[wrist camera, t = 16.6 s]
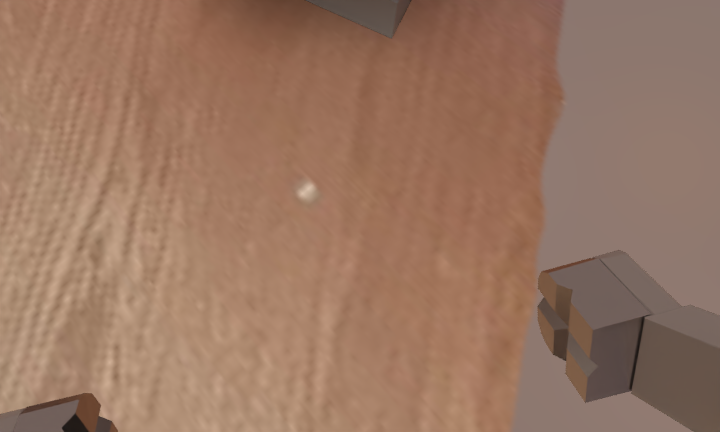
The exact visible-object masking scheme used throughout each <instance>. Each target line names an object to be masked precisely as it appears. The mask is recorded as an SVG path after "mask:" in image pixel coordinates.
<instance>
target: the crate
mask: <svg viewBox="0 0 720 432" xmlns="http://www.w3.org/2000/svg"><path fill="white" fill-rule="evenodd" d="M306 1H308V2H310V3H313V4H315V5H317V6H319V7H322V8H324V9H326V10H329V11H331V12H333V13H335V14H338V15H340V16H342V17H344V18H347V19H349V20H351V21H353V22H356V23H358V24H360V25H362V26H365V27H367V28H369V29H371V30H374V31H376V32H378V33H380V34H383V35H385V36H387V37H389V38H392V37H393V35H394V33H395V31H396V29H397V27H398V25H399V23H400V22H401V20H402V18H403V16H404V14H405V12H406V10H407V8H408V6H409V4H410V2H411V0H306Z"/></svg>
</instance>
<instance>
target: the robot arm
mask: <svg viewBox="0 0 720 432" xmlns="http://www.w3.org/2000/svg"><path fill="white" fill-rule="evenodd" d="M538 289H539V290H540V292H541V293H542V295H543V296H544V298H543V299H542V301H541V302H540V303H539V305H538V322H539V326H540V330H541V334H542V336H543V338H544V340H545V342H546V344H547V346H548V348H549V349H550V351H551V352H552V354H553V355H555V356H557V357H559V358H561V359H563V360H565V361H566V375H567V376H568V378H569V379H570V381H571V382H572V384H573V385H574V387H575V388H576V390H577V391H578V393H579V394H580V396H581V397H582V399H583V400H584V402H585V403H586V402H590V401H593V400H598V399H602V398H605V397H609V396H613V395H617V394H621V393H625V392H629V391H632V392H631V394H633V395H635V396H636V397H638V398H640V399H641V400H643V401H645V402H646V403H648V404H649V405H651V406H653V407H654V408H656V409H658V410H659V411H661V412H662V413H664V414H666V415H667V416H669V417H671V418H672V419H674V420H675V421H677V422H679V423H680V424H682V425H684V426H685V427H687V428H689V429H690V430H692V431H694V432H720V315H717V314H714V313H712V312H709V311H706V310H703V309H701V308H698V307H695V306H692V305H688V306H684V307H682V306H681V305H680V304H679V303H678V302H677V301H676V300H675V299H674V298H672V296H671V295H669V294H668V293H667V292H666V291H665V290H664V289H663V288H662V287H661V286H660V285H659V284H658V283H657V282H656V281H655V280H654V279H653V278H652V277H651V276H650V275H649V274H648V273H646V271H644V270H643V269H642V268H641V267H640V266H639V265H638V264H637V263H636V262H635V261H634V260H633V259H632V258H631V257H630V256H629V255H628V254H627V253H625V252H623V251H621V250H617V251H614V252H610V253H606V254H603V255H599V256H596V257H593V258H589V259H586V260H581V261H578V262H575V263H571V264H567V265H563V266H560V267H556V268H553V269H549V270H545V271H542V272H541V273H540V275H539V278H538ZM100 407H101V405H100V403H99V402H98V401H97V399H96V398H95V397H94V395H93V394H92V393H83V394H79V395H75V396H71V397H67V398H62V399H58V400H54V401H50V402H46V403H42V404H37V405H33V406H29V407H26V408H24V409H19V410H15V411H11V412H7V413H3V414H0V432H118V430H117V429H116V427H115V425H114V424H113V422H112V421H110V420H107V419H105V418H102V417H100V416H99V412H100Z"/></svg>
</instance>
